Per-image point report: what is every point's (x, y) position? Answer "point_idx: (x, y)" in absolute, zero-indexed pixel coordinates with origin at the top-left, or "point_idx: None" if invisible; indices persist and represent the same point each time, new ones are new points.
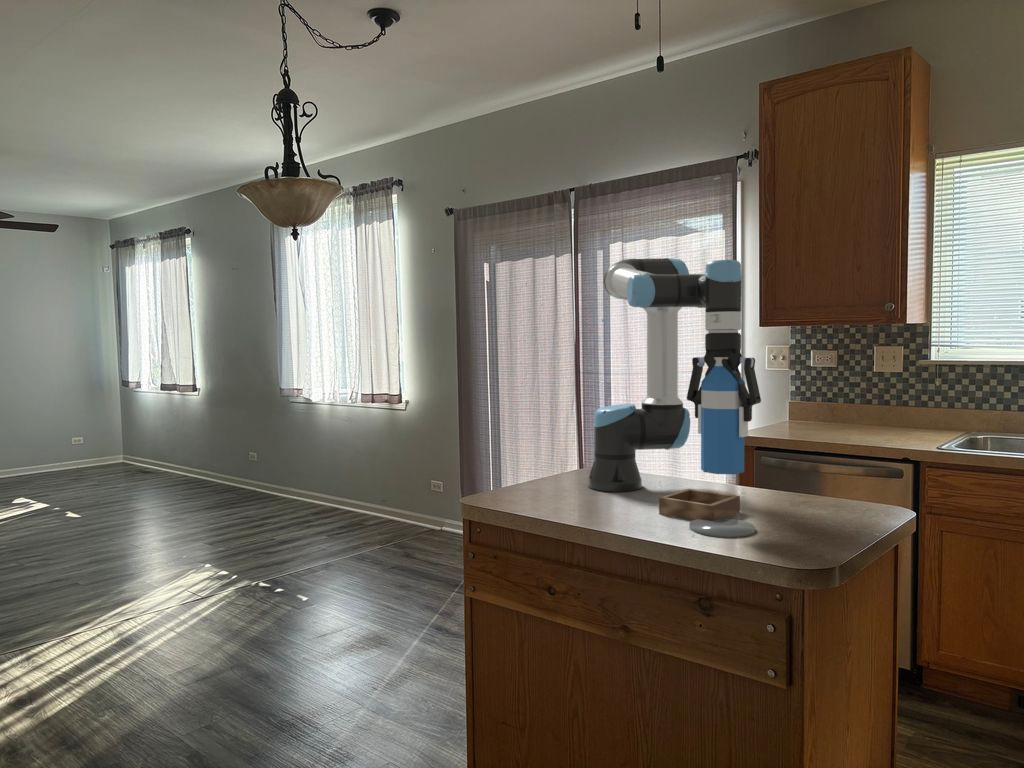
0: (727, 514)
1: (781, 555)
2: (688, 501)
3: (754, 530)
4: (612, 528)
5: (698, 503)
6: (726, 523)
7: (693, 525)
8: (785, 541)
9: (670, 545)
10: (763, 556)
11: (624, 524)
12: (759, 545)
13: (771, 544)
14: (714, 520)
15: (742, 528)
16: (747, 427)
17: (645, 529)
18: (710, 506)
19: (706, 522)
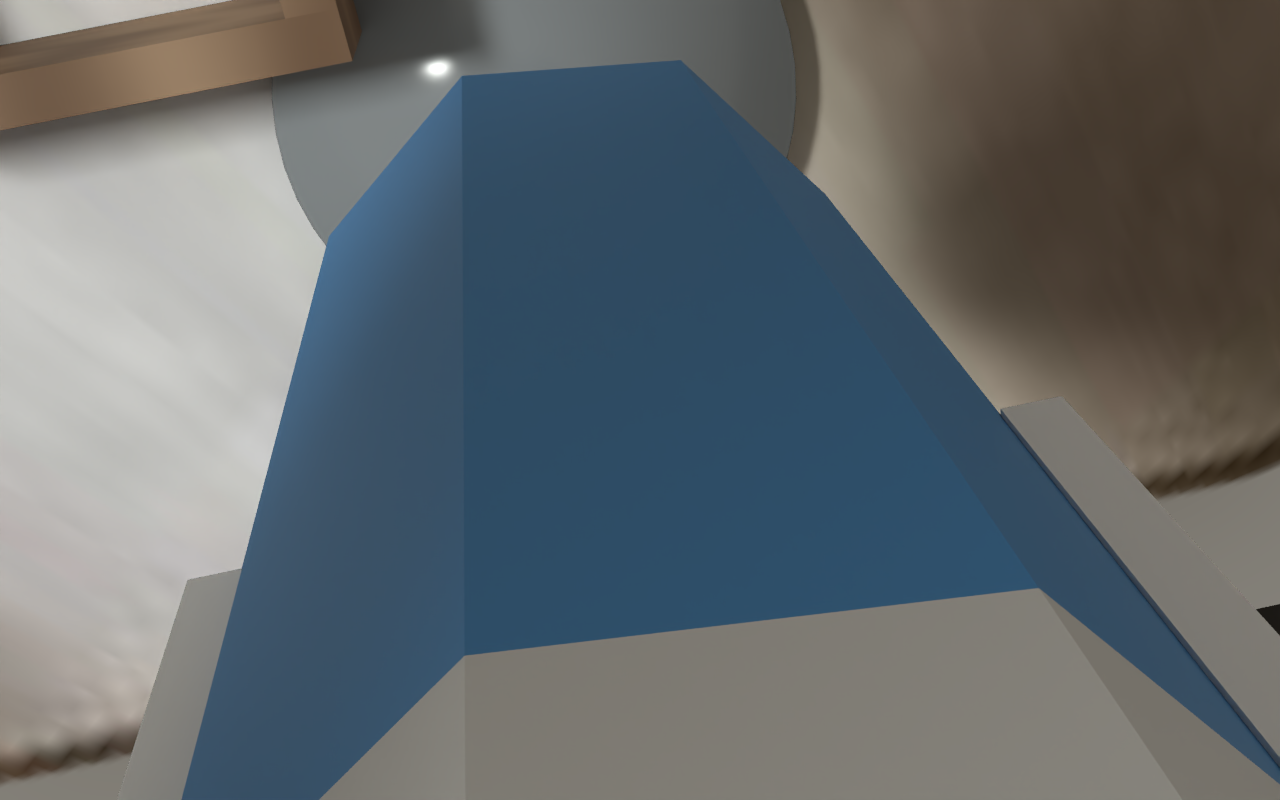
0: None
1: (1148, 314)
2: (62, 81)
3: (778, 2)
4: (83, 661)
5: (191, 73)
6: (522, 31)
7: None
8: (1049, 21)
9: None
10: (1076, 404)
11: (25, 550)
12: (960, 245)
13: (1007, 165)
14: (389, 28)
15: (704, 62)
16: (1139, 502)
17: (222, 526)
18: (336, 61)
19: (398, 137)
